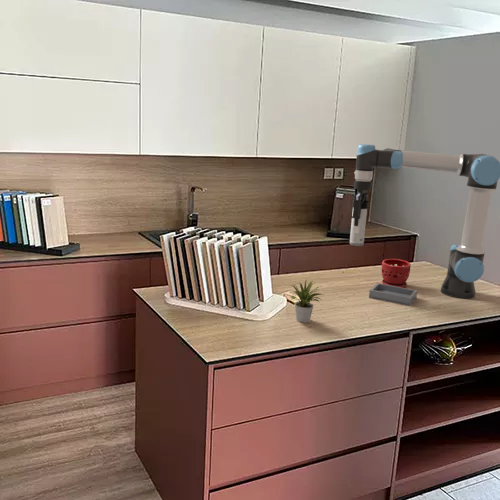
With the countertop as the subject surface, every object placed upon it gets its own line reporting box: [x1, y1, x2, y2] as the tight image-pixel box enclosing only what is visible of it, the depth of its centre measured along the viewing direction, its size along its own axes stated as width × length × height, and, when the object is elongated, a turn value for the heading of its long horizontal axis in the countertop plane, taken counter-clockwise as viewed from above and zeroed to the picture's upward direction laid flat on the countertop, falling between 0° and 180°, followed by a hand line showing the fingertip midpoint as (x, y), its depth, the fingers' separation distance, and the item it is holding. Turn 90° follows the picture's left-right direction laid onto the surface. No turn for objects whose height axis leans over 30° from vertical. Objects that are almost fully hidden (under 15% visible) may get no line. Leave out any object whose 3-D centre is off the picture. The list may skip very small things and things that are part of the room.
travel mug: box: [349, 200, 369, 247], centre depth 251 cm, size 6×7×20 cm
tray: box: [368, 282, 418, 307], centre depth 250 cm, size 18×13×4 cm
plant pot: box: [381, 258, 412, 288], centre depth 266 cm, size 13×13×12 cm
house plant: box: [289, 278, 325, 323], centre depth 214 cm, size 14×14×16 cm
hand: (358, 231), depth 252 cm, fingers closed on travel mug, 6 cm apart
